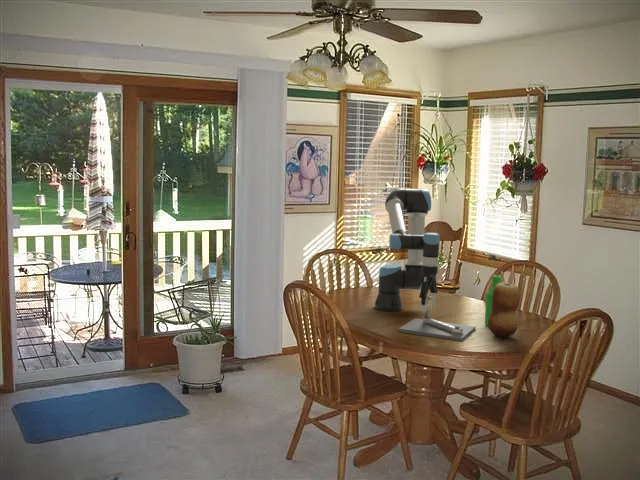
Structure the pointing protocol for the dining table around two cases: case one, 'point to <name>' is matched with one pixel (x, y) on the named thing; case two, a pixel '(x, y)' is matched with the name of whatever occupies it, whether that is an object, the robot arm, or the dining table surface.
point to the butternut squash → (504, 310)
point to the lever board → (435, 330)
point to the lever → (437, 323)
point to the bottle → (489, 297)
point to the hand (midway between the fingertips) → (427, 308)
